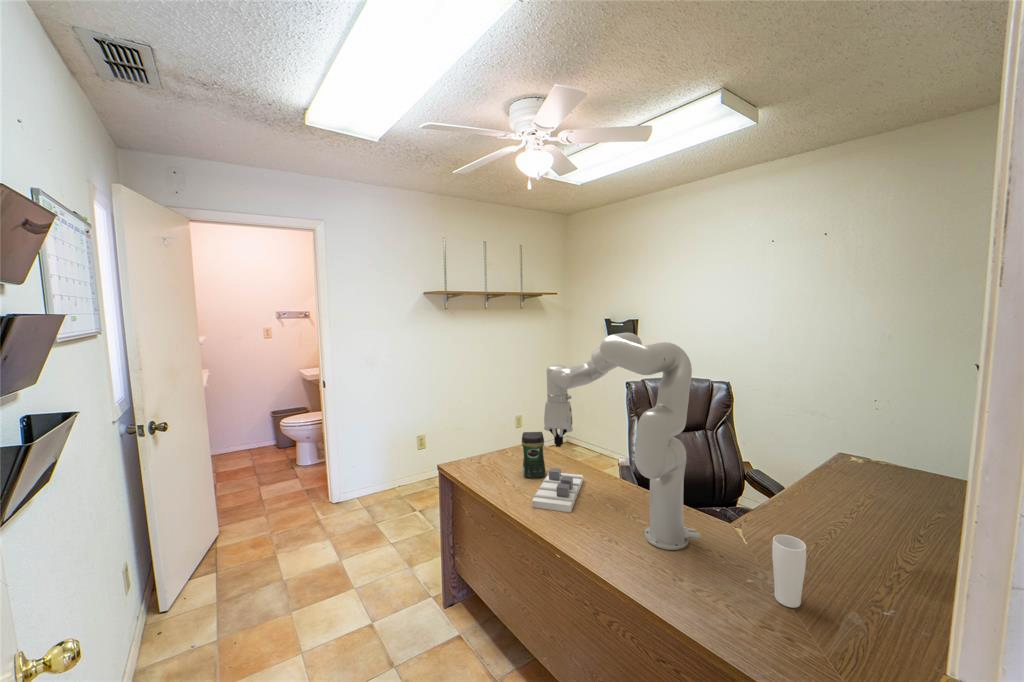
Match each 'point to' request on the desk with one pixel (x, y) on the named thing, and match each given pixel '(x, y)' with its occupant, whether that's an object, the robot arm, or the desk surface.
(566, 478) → the tab
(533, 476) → the coffee jar
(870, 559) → the desk surface
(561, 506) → the switch board
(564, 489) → the tab
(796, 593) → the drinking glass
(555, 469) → the tab
